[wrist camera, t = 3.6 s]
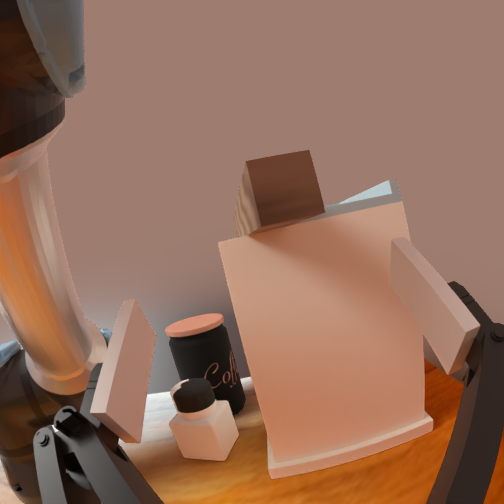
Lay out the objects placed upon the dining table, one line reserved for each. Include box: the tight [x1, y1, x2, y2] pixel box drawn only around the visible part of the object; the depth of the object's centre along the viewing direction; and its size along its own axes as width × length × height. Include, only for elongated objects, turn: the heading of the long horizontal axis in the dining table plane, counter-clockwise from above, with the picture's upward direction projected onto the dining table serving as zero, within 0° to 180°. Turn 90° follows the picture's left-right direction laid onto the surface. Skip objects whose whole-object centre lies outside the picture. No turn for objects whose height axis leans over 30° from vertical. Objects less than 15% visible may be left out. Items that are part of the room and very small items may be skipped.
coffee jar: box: [165, 314, 245, 415], centre depth 53 cm, size 11×11×18 cm
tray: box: [289, 179, 402, 226], centre depth 42 cm, size 23×12×2 cm, turn 178°
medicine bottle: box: [169, 378, 239, 461], centre depth 40 cm, size 7×7×12 cm
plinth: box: [218, 201, 434, 479], centre depth 42 cm, size 24×22×30 cm
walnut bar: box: [234, 150, 325, 238], centre depth 34 cm, size 32×4×4 cm, turn 5°
